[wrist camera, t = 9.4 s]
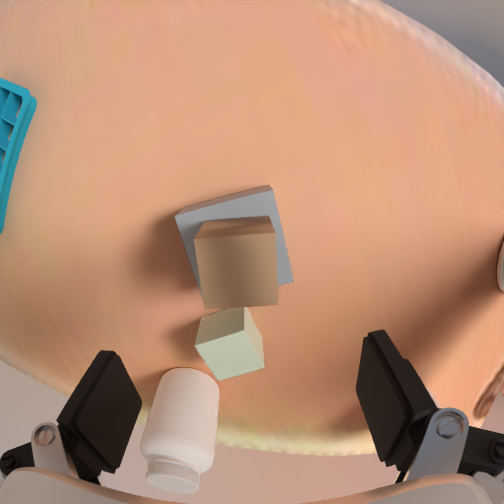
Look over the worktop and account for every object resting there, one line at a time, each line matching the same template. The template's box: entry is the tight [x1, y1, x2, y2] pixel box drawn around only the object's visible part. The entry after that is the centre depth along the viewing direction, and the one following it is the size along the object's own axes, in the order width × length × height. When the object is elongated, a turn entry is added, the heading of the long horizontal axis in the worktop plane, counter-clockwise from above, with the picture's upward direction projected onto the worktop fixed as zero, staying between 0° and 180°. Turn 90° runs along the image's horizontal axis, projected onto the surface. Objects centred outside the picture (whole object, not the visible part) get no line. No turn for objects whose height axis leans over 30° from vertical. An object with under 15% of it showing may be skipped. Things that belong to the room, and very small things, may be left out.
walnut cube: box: [194, 216, 278, 309], centre depth 20 cm, size 5×5×5 cm
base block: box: [175, 185, 294, 298], centre depth 24 cm, size 8×8×4 cm
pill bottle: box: [140, 368, 220, 494], centre depth 26 cm, size 8×8×15 cm
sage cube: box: [194, 307, 265, 381], centre depth 27 cm, size 5×5×5 cm
